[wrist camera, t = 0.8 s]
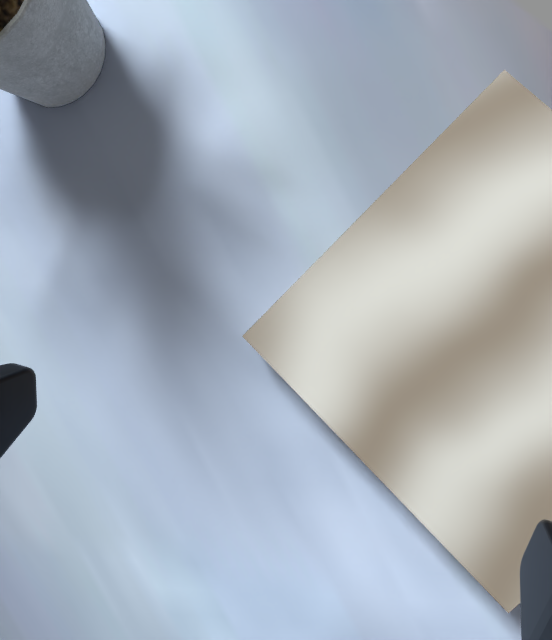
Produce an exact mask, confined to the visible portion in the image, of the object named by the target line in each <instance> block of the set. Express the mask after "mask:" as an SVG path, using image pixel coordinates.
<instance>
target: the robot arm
mask: <svg viewBox="0 0 552 640" xmlns="http://www.w3.org/2000/svg"><path fill="white" fill-rule="evenodd" d="M36 408H37V395H36V375H35V373H34V371H33V370H32V369H31V368H28V367H25V366H22V365H18V364H14V363H10V364H4V365H0V458H1V457H2V456H3V454H4V453H5V452H6V451H7V449H8V448H9V447H10V446H11V445H12V443H13V442H14V441H15V440H16V438H17V437H18V436H19V435H20V433H21V432H22V431H23V430H24V429H25V427H26V426H27V425H28V424H29V422H30V421H31V420H32V418H33V417H34V415H35V412H36ZM520 602H521V637H522V640H552V521H550V520H547V519H544V520H541V521H540V522H539V523H538V524H537V526H536V528H535V530H534V532H533V534H532V536H531V539H530V541H529V543H528V545H527V548H526V550H525V552H524V554H523V557H522V560H521V564H520Z"/></svg>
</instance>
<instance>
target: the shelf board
mask: <svg viewBox="0 0 552 640" xmlns="http://www.w3.org/2000/svg"><path fill="white" fill-rule="evenodd" d="M242 337H243V338H244V339H245V340H246V341H247V342H248V343H249V344H250V345H251V346H252V347H253V348H254V349H255V350H256V351H257V352H258V353H259V354H260V355H261V356H262V357H263V358H264V359H265V361H266V362H267V363H268V364H269V365H270V366H271V367H272V368H273V369H274V370H275V371H276V372H277V373H278V374H279V375H280V376H281V377H282V378H283V379H284V380H285V381H286V382H287V383H288V384H289V385H290V387H291V388H292V389H293V390H294V391H295V392H296V393H297V394H298V395H299V396H300V397H301V398H302V399H303V400H304V401H305V402H306V403H307V404H308V405H309V406H310V407H311V408H312V409H313V410H314V412H315V413H316V414H317V415H318V416H319V417H320V418H321V419H322V420H323V421H324V422H325V423H326V424H327V425H328V426H329V427H330V428H331V429H332V430H333V431H334V432H335V433H336V434H337V435H338V436H339V438H340V439H341V440H342V441H343V442H344V443H345V444H346V445H347V446H348V447H349V448H350V449H351V450H352V451H353V452H354V453H355V454H356V455H357V456H358V457H359V458H360V459H361V460H362V461H363V463H364V464H365V465H366V466H367V467H368V468H369V469H370V470H371V471H372V472H373V473H374V474H375V475H376V476H377V477H378V478H379V479H380V480H381V481H382V482H383V483H384V484H385V485H386V486H387V487H388V489H389V490H390V491H391V492H392V493H393V494H394V495H395V496H396V497H397V498H398V499H399V500H400V501H401V502H402V503H403V504H404V505H405V506H406V507H407V508H408V509H409V510H410V511H411V512H412V513H413V515H414V516H415V517H416V518H417V519H418V520H419V521H420V522H421V523H422V524H423V525H424V526H425V527H426V528H427V529H428V530H429V531H430V532H431V533H432V534H433V535H434V536H435V537H436V538H437V540H438V541H439V542H440V543H441V544H442V545H443V546H444V547H445V548H446V549H447V550H448V551H449V552H450V553H451V554H452V555H453V556H454V557H455V558H456V559H457V560H458V561H459V562H460V563H461V564H462V566H463V567H464V568H465V569H466V570H467V571H468V572H469V573H470V574H471V575H472V576H473V577H474V578H475V579H476V580H477V581H478V582H479V583H480V584H481V585H482V586H483V587H484V588H485V589H486V591H487V592H488V593H489V594H490V595H491V596H492V597H493V598H494V599H495V600H496V601H497V602H498V603H499V604H500V605H501V606H502V607H503V608H504V609H505V610H506V611H507V612H508V613H509V612H510V611H512V610H513V609H514V608H515V607H516V606H517V605H518V604H520V603H521V602H520V564H521V560H522V557H523V554H524V552H525V550H526V548H527V545H528V543H529V541H530V539H531V536H532V534H533V532H534V530H535V528H536V526H537V524H538V523H539V522H540V521H541V520H544V519H547V520H550V521H552V110H551V109H550V108H549V107H548V106H547V105H545V104H544V103H543V102H542V101H541V100H539V99H538V98H537V97H536V96H535V95H534V94H532V93H531V92H530V91H529V90H528V89H526V88H525V87H524V86H523V85H522V84H521V83H519V82H518V81H517V80H516V79H515V78H513V77H512V76H511V75H510V74H509V73H508V72H506V71H505V70H504V71H503V72H502V73H501V74H500V75H499V76H498V77H497V78H496V79H495V80H494V81H493V82H492V83H491V84H490V85H489V86H488V87H487V88H486V89H485V90H484V91H483V92H482V93H481V94H480V95H479V96H478V97H477V98H476V99H475V100H474V101H473V102H472V103H471V104H470V105H469V106H468V107H467V108H466V109H465V110H464V111H463V112H462V113H461V114H460V116H459V117H458V118H457V119H456V120H455V121H454V122H453V123H452V124H451V125H450V126H449V127H448V128H447V129H446V130H445V131H444V132H443V133H442V134H441V135H440V136H439V137H438V138H437V139H436V140H435V141H434V142H433V143H432V144H431V145H430V146H429V147H428V148H427V149H426V150H425V151H424V152H423V153H422V154H421V155H420V156H419V157H418V158H417V159H416V160H415V161H414V162H413V163H412V164H411V165H410V166H409V167H408V168H407V169H406V170H405V171H404V172H403V173H402V174H401V175H400V176H399V177H398V179H397V180H396V181H395V182H394V183H393V184H392V185H391V186H390V187H389V188H388V189H387V190H386V191H385V192H384V193H383V194H382V195H381V196H380V197H379V198H378V199H377V200H376V201H375V202H374V203H373V204H372V205H371V206H370V207H369V208H368V209H367V210H366V211H365V212H364V213H363V214H362V215H361V216H360V217H359V218H358V219H357V220H356V221H355V222H354V223H353V224H352V225H351V226H350V227H349V228H348V229H347V230H346V231H345V232H344V233H343V234H342V235H341V236H340V237H339V238H338V239H337V240H336V241H335V243H334V244H333V245H332V246H331V247H330V248H329V249H328V250H327V251H326V252H325V253H324V254H323V255H322V256H321V257H320V258H319V259H318V260H317V261H316V262H315V263H314V264H313V265H312V266H311V267H310V268H309V269H308V270H307V271H306V272H305V273H304V274H303V275H302V276H301V277H300V278H299V279H298V280H297V281H296V282H295V283H294V284H293V285H292V286H291V287H290V288H289V289H288V290H287V291H286V292H285V293H284V294H283V295H282V296H281V297H280V298H279V299H278V300H277V301H276V302H275V303H274V304H273V306H272V307H271V308H270V309H269V310H268V311H267V312H266V313H265V314H264V315H263V316H262V317H261V318H260V319H259V320H258V321H257V322H256V323H255V324H254V325H253V326H252V327H251V328H250V329H249V330H248V331H247V332H246V333H245V334H244V335H243V336H242Z"/></svg>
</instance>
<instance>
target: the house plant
mask: <svg viewBox="0 0 552 640" xmlns="http://www.w3.org/2000/svg"><path fill="white" fill-rule="evenodd" d="M104 59H105V39H104V34H103V30H102V28H101V26H100V24H99V22H98V20H97V18H96V16H95V14H94V13H93V11H92V9H91V7H90V6H89V4H88V2H87V0H0V89H2V90H4V91H7V92H9V93H12V94H14V95H17V96H19V97H22V98H24V99H27V100H29V101H32V102H34V103H37V104H39V105H42V106H45V107H60V106H63V105H66V104H69V103H72V102H73V101H75V100H77V99H78V98H80V97H81V96H83V95H84V94H85V93H86V92H87V91H88V90H89V89H90V88H91V86H92V85H93V84H94V83H95V81H96V79H97V77H98V76H99V74H100V72H101V69H102V66H103V62H104Z"/></svg>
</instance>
